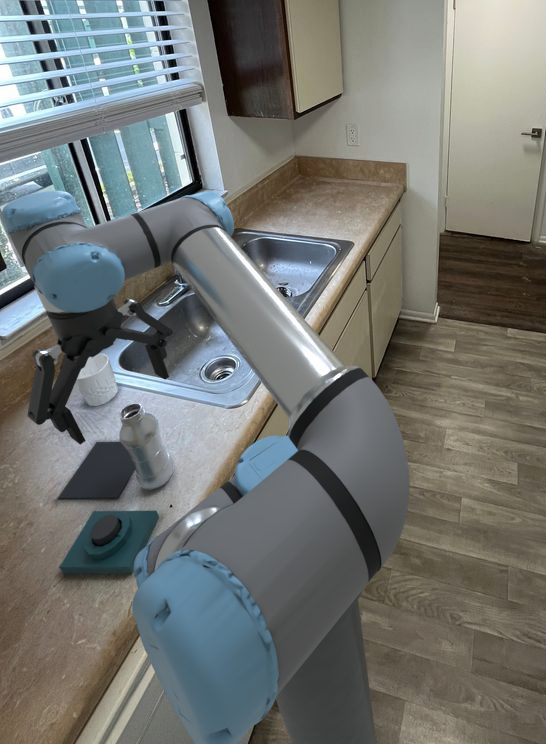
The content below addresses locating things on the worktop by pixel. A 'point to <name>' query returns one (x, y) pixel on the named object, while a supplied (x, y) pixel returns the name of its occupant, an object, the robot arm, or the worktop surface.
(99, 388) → the white cup
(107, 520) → the button
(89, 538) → the teal pump base
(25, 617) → the worktop surface
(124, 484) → the mat
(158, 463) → the silver bottle
